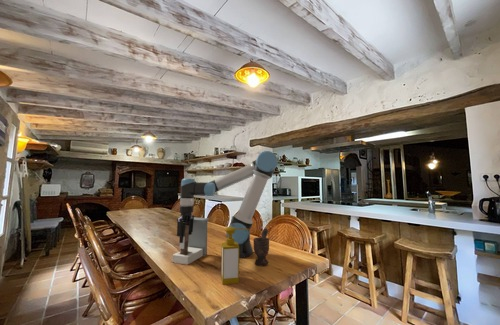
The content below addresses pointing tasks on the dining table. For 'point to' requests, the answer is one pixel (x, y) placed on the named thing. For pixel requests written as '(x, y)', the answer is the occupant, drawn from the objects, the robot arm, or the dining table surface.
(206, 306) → the dining table surface
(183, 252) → the walnut dowel
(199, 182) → the robot arm
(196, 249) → the stand
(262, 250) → the mortar and pestle
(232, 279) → the soap bottle
